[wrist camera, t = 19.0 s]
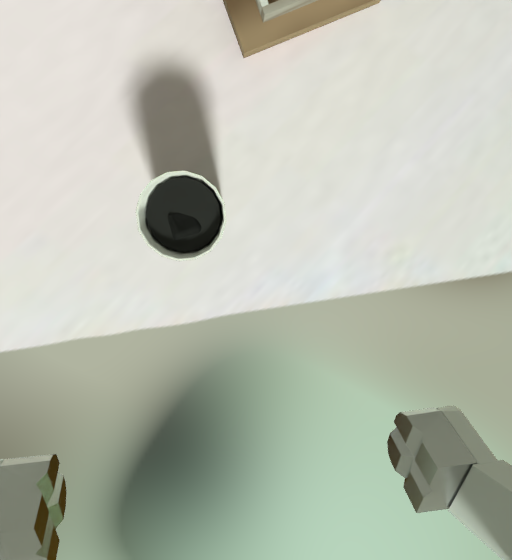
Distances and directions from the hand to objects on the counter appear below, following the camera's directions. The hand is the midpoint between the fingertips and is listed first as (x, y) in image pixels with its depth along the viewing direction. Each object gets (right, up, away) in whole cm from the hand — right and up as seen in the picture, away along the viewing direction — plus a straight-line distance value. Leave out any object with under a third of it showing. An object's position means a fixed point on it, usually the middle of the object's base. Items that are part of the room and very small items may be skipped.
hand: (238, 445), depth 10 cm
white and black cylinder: (-6, +11, +31) cm, 34 cm away
